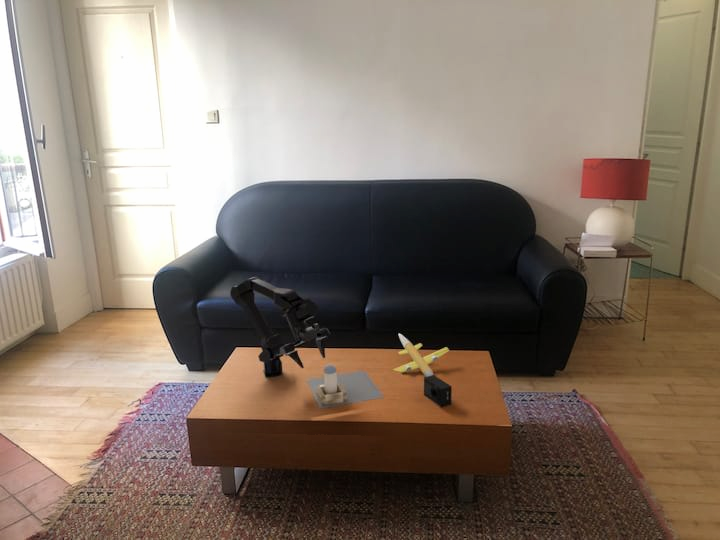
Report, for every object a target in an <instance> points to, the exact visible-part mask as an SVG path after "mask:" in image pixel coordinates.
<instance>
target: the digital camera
mask: <svg viewBox="0 0 720 540" xmlns="http://www.w3.org/2000/svg"><path fill="white" fill-rule="evenodd" d="M452 388H453V387H452V385H450V384H448V382H445V381H444V380H442V379H441V378H439V377H438V376H436V375H435V374H433V375H431V376H428V377H426V376H425V377H423V395H424V397H426V398H427V399H429V400H431V402H433V403H435V404H436V405H438V406H439V407H440V408H444V407H447V406H449V405H450V406H451V405H452V393H453V391H452V390H453V389H452Z"/></svg>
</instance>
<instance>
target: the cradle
mask: <svg viewBox="0 0 720 540" xmlns="http://www.w3.org/2000/svg"><path fill="white" fill-rule="evenodd" d="M337 392H338V393H333V394H327V395H324V394H325V385H324V384H323V385H319V386H317V387H316V395H317V397H318V399H319V401H320V403H321V405H322V404H326V405H328V404H334V403H339V402H343V401H344V400H347V392H346V390H345V389H344V387H343V386H342V384H341V383H337Z"/></svg>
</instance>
